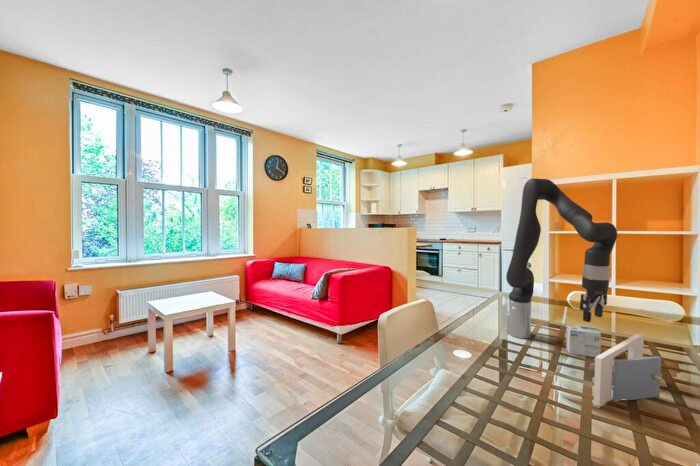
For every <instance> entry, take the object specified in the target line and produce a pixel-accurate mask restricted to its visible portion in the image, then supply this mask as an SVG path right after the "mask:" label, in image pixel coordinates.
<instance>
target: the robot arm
mask: <svg viewBox="0 0 700 466" xmlns="http://www.w3.org/2000/svg"><path fill="white" fill-rule="evenodd" d="M539 200H540V201H544V200H545V201H547V202H548V203H550V204H552V205H553V206H554V207H555V208H556V210H557V213H558V214H559V216H560V217H561V218H562V219H563V220H564V221H566V222H567V223H568V224H569V225H571V226H573V228H574V230H575V232H577V233H578V235H579V236H580V238H581V239H582V240H585V241H587V242H589V243H593V245H592V247H591V246H590V247H588V248H587V249H586V250H585V252H584V261H583V267H582V279H581V287H582V288H583V289H585V290H586V291H585V293H581V294H580V303H579V310H580V311H582V320H583V321H584V322H587V323H590V322H592V311H593V309H594V316H595V317H598V318H603V316H604V315H603V314H604V313H603V312H604V308H605V306H607V304H608V291H609V288H610V287H609V286H610V264H611V263H610V261H611V253H612V251H613V249H614V247H615V244H616V241H617V237H618V230H617V228H616V226H615V225H614V224H613V223H611V222H608V221H607V222H605V221H603V222H594V221H593V215H592V214H591V213H590V212H589V211H588V210H586V209H585V208H584V207H582V206H581V205H579V204H577V203H576V202H575V201H574V200H572V199H571V198H570V197H568V195H566V194H565V192H563V191H562V190H561V189H560V188H559V186H558V185H556V184H555V183H554V182H553V181H552V180H551V179H547V178H530V179H528V180H527V181H525V184H524V185H523V189H522V197H521V206H520V207H521V208H520V213H519V215H520V216H519V221H518V224H517V225H518V226H517V230H516V235H515V241H514V245H513V250H512V256H511V260H510V262H509V266H508V268H507V271H506V276H505V277H506V278H505V279H506V282H507V284H508V285H509V286H510V287H512V290H511V291H510V292H509V294H508V313H507V314H506V333H508V334H509V335H510V336H512V337H515V338H518V339H529V338H531V335H532V334H531V333H532V332H531V331H532V330H531V329H532V328H531V327H532V324H531V323H532V297H533V295H534V287H535V284H534V283H535V278H534V273H533V272H532V270H531V269H530V268H529V267H528V263H529V262H530V261H529V260H530V258H531V257H532V255H533V253H534V252H535V250H536V248H537V247H538V244H539V240H540V236H541V232H542V231H541V230H542V229H541V228H542V227H541V224H540V221H539V218H538V215H537V205H538V202H539Z"/></svg>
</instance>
